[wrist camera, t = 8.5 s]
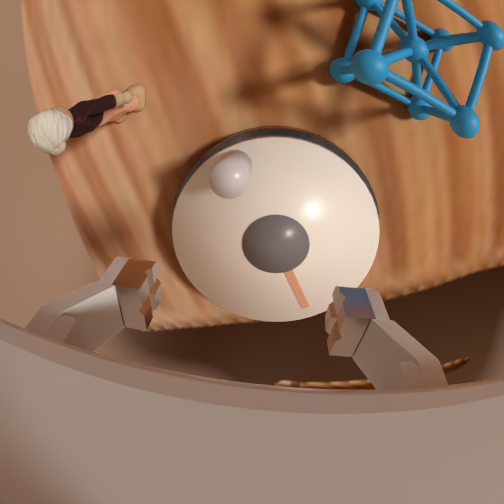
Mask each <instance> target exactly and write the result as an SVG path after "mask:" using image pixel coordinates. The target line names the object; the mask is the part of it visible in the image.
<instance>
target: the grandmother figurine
mask: <svg viewBox="0 0 504 504" xmlns="http://www.w3.org/2000/svg"><path fill="white" fill-rule="evenodd" d="M144 107H145V91H144V88H143V87H142V86H141V85H139V84H135V85H132V86H130V87H129V88H128V89H127V90H126V91H125V92H123V93H121V92H120V91H118V90H112V91H109V92H106V93H104V94H101V95H99V96H97V97H96V98H94V99H92V100H89V101H81V102H79V103H77V104H76V105H75V106H73V107H72V108H70V109H69V110H68V109H66V108H64V107H54V108H51V109H49V110H46V111H43V112H40V113H38V114H37V115H35V116H34V117H32V118H31V119H30V121H29V124H28V133H29V137H30V139H31V141H32V142H33V144H34V145H35V146H36V147H37V148H39V149H40V150H42V151H44V152H49V153H50V154H52V155H59V154H60V153H62V152H63V151H64V150H65V148H66V143H67V142H68V141H69V140H70V138H76V137H80V136H82V135H84V134H86V133H88V132H91V131H93V130H94V129H95V128H97V127H99V126H101V125H104V124H105V123H107V122H111V121H115V122H116V123H122V122H124V121H125V120H126V119H127V113H128V112H132V111H134V112H139V111H141V110H143V109H144Z"/></svg>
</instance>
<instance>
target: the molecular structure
mask: <svg viewBox="0 0 504 504" xmlns="http://www.w3.org/2000/svg"><path fill="white" fill-rule="evenodd" d="M355 1H356V3H357V5H358V6H359V7H361V8H360V10H359V13H358V16H357V19H356V22H355V25H354V28H353V31H352V33H351V36H350V39H349V42H348V45H347V48H346V50H345V53H344V56H343V58H337V59H335V60H333V61H332V62H331V64H330V67H329V72H330V75H331V77H332V78H333V79H334V80H335V81H337V82H339V83H349V82H351V81H353V80H357V81H359V82H361V83H363V84H365V85H368V86H370V87H372V88H374V89H376V90H378V91H380V92H382V93H384V94H386V95H388V96H390V97H392V98H394V99H396V100H398V101H400V102H402V103H404V104H406V105H407V109H408V112H409V114H410V115H411V116H412V117H413V118H414V119H417V120H425V119H427V118H428V117H429V116H430V115H432V116H435V117H438V118H441V119H444V120H447V121H449V122H450V126H451V128H452V130H453V131H454V132H455V133H456V134H457V135H458V136H460V137H462V138H471V137H474V136H475V135H476V134H477V132H478V131H479V127H480V121H479V118H478V116H477V114H476V112H475V111H474V110H475V107H476V104H477V101H478V98H479V95H480V92H481V89H482V86H483V83H484V79H485V76H486V73H487V69H488V66H489V62H490V58H491V55H492V51H493V50H500V49H502V48H503V47H504V32H503V30H502V29H501V28H500V27H499V26H498V25H497V24H496V23H494V22H492V21H482V22H481V21H479V20H478V19H477V18H475V17H474V16H473V15H472V14H470V13H469V12H468V11H466V10H465V9H464V8H462V7H461V6H460V5H458V4H457V3H455V2H454V1H452V0H437V1H439V2H441V3H442V4H444V5H445V6H447V7H448V8H450V9H451V10H452V11H454V12H455V13H457V14H458V15H459V16H461V17H462V18H464V19H465V20H466V21H468V22H469V23H470V24H472V25H473V26H474V27H475V28H477V32H470V33H461V34H454V35H451V34H450V33H449V32H448V31H446V30H444V29H435V30H432V29H431V28H429V27H427V26H426V25H424V24H422V23H421V22H419V21H417V20H416V19H415V15H414V10H413V4H412V0H402V5H403V10H404V13H403V12H401V11H399V10H397V9H396V7H397V4H398V1H399V0H386V2H385V3H384V2H382V1H381V0H355ZM373 10H375V11H376V12H377V13H378V15H379V16H380V20H379V23H378V26H377V29H376V32H375V35H374V38H373V41H372V44H371V47H370V49H363V50H360V51H358V52H357V53H356V54H355V55H354V56H353V54H354V52H355V49H356V46H357V43H358V40H359V37H360V34H361V32H362V29H363V26H364V23H365V20H366V17H367V14H368V11H373ZM394 16H396V17H398V18H400V19H402V20H404V21H406V26H407V32H408V35H407V34H406V32H405V31H404V30H403V29H402V28H401V27H400V26H399V25H398V24H397V22H396V21H395V20H394V19H393V17H394ZM390 27H391V28H392V30H393V31H394V32H395V33H396V34H397V35H398V36H399V38H400V39H401V40H402V41H401V43H400V48H399V49H396V50H392V51H389V52H385V53H382V54H381V52H382V50H383V47H384V44H385V41H386V38H387V35H388V32H389V29H390ZM417 28H418V29H420V30H421V31H423V32H425V33H426V34H428V35H429V36H431V39H430V40H427V41H424V40H423V39H422V38H420V37H418V36H417ZM474 42H481V43H482V44H483V45H484V46H483V50H482V54H481V57H480V61H479V64H478V68H477V71H476V74H475V78H474V81H473V84H472V87H471V90H470V93H469V96H468V99H467V102H466V105H459V103H458V101H457V100H456V98H455V97H454V95H453V94H452V92H451V91H450V89H449V88H448V86H447V85H446V83H445V82H444V80H443V79H442V78H441V76H440V75H439V73H438V72H437V68H438V65H439V62H440V59H441V56H442V53H443V51H444V52H446V51H450V50H451V49H452V48H453V46H456V45H462V44H468V43H474ZM430 50H435V52H434V55H433V58H432V61H431V63H430V61H429V60H428V59H427V58H428V56H429V51H430ZM352 57H353V58H352ZM404 58H406V59H407V60H408V61H410V62H412V69H413V80H414V83H412V82H410V81H408V80H407V79H405V78H403V77H401V76H399V75H397V74H395V73H393V72H392V71H390V70H389V65H390V64H392V63H395V62H397V61H400V60H402V59H404ZM421 65H422V66H423V67H424V69H425V70H426V71H427V76H426V79H425V82H424V85H423V87H422V75H421ZM384 80H386V81H388V82H390V83H392V84H394V85H396V86H398V87H399V88H401V89H403V90H405V91H407V92H409V93H410V94H412V95H414V96H413V97H411V98H408V97H407V96H405V95H403V94H401V93H399V92H397V91H395V90H393V89H391V88H389V87H387V86H385V85H383V84H381V82H383V81H384ZM433 81H434V83H435V84H436V86H437V87H438V89H439V90H440V91H441V93H442V95H443V96H444V98H445V99H446V101H447V102H448V104H449V105H450V106H449V105H448V104H446V103H445V102H443V101H442V100H440V99H439V98H437V97H435V96H434V95H432V94H431V93H429V91H430V89H431V86H432V83H433ZM431 106H433V107H434V108H433V107H431Z"/></svg>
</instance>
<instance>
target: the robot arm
mask: <svg viewBox="0 0 504 504" xmlns="http://www.w3.org/2000/svg"><path fill="white" fill-rule="evenodd" d="M159 273H160V269H159V264H158V263H157V262H154V261H148V260H142V259H136V258H130V257H124V256H117V257H116V258H115V259H114V260H113V262H112V263H111V264H110V266H109V267H108V268H107V270H106V271H105V272H104V274H103V275H102V277H101V278H100V279H99V281H98V282H95V281H94V282H92V283H89V284H87V285H85V286H83V287H81V288H79V289H77V290H75V291H73V292H70V293H68V294H66V295H64V296H62V297H60V298H58V299H56V300H54V301H52V302H50V303H48V304H46V305H44V306H42V307H41V308H40V309H39V310H38V312H37V313H36V314H35V316H34V317H33V318H32V320H31V321H30V322H29V324H28V325H27V327H26V328H22V327H20V326H17V325H14V324H12V323H10V322H7V321H5V320H3V319H0V504H504V377H503V378H497V379H491V380H486V381H479V382H472V383H465V384H456V385H448V384H447V381H446V378H445V375H444V373H443V370H442V368H441V365H440V362H439V360H438V359H437V358H436V357H435V356H433V355H432V354H431V353H430V352H429V351H428V350H427V349H426V348H424V347H423V346H422V345H421V344H420V343H419V342H417V341H416V340H415V339H414V338H413V337H412V336H411V335H410V334H408V333H407V332H406V331H405V330H404V329H402V328H401V327H400V326H399V325H398V324H397V323H396V322H394V321H391V320H389V317H388V314H387V312H386V309H385V306H384V304H383V301H382V299H381V296H380V293H379V291H378V290H377V289H370V288H353V287H344V286H336V287H335V289H334V291H333V294H332V297H333V302H332V303H330V304H329V305H328V309H327V312H326V318H325V327H326V331H327V332H328V333H329V334H330V335H329V337H328V341H327V342H328V349H329V355H335V356H348V357H352V358H353V359H354V361H355V362H356V363H357V365H358V366H359V367H360V369H361V370H362V371H363V373H364V374H365V375H366V376H367V378H368V379H369V380H370V382H371V383H372V384H373V386H374V387H375V388H376V390H333V389H310V388H294V387H281V386H269V385H260V384H250V383H243V382H234V381H228V380H221V379H214V378H208V377H202V376H195V375H190V374H184V373H179V372H174V371H169V370H164V369H159V368H155V367H150V366H146V365H142V364H137V363H133V362H129V361H125V360H121V359H117V358H113V357H110V356H106V355H102V354H99V353H96V352H93V351H94V350H96V349H97V348H98V347H100V346H101V345H102V344H104V343H105V342H106V341H107V340H109V339H110V338H111V337H113V336H114V335H116V334H117V333H118V332H119V331H121V330H122V329H123V328H124V327H129V328H135V329H140V330H146V331H147V329H148V327H149V325H150V323H151V320H152V318H153V314H152V311H153V310H155V309H157V307H158V305H159V302H160V297H161V282H160V281H159V280H158V279H157V277H158V275H159Z"/></svg>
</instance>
